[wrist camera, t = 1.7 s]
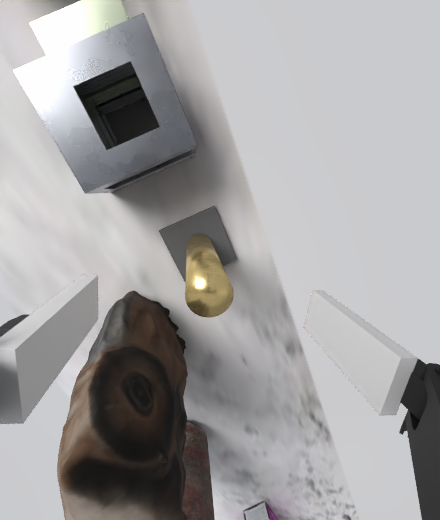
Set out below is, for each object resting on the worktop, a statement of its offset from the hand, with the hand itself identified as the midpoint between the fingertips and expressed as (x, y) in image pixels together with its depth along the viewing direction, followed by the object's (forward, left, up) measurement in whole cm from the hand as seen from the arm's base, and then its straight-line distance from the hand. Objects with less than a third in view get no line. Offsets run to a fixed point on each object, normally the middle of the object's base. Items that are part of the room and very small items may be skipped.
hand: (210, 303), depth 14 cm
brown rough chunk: (+14, -5, -15) cm, 21 cm away
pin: (0, 0, -14) cm, 14 cm away
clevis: (-11, -11, -15) cm, 22 cm away
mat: (0, 0, -15) cm, 15 cm away
